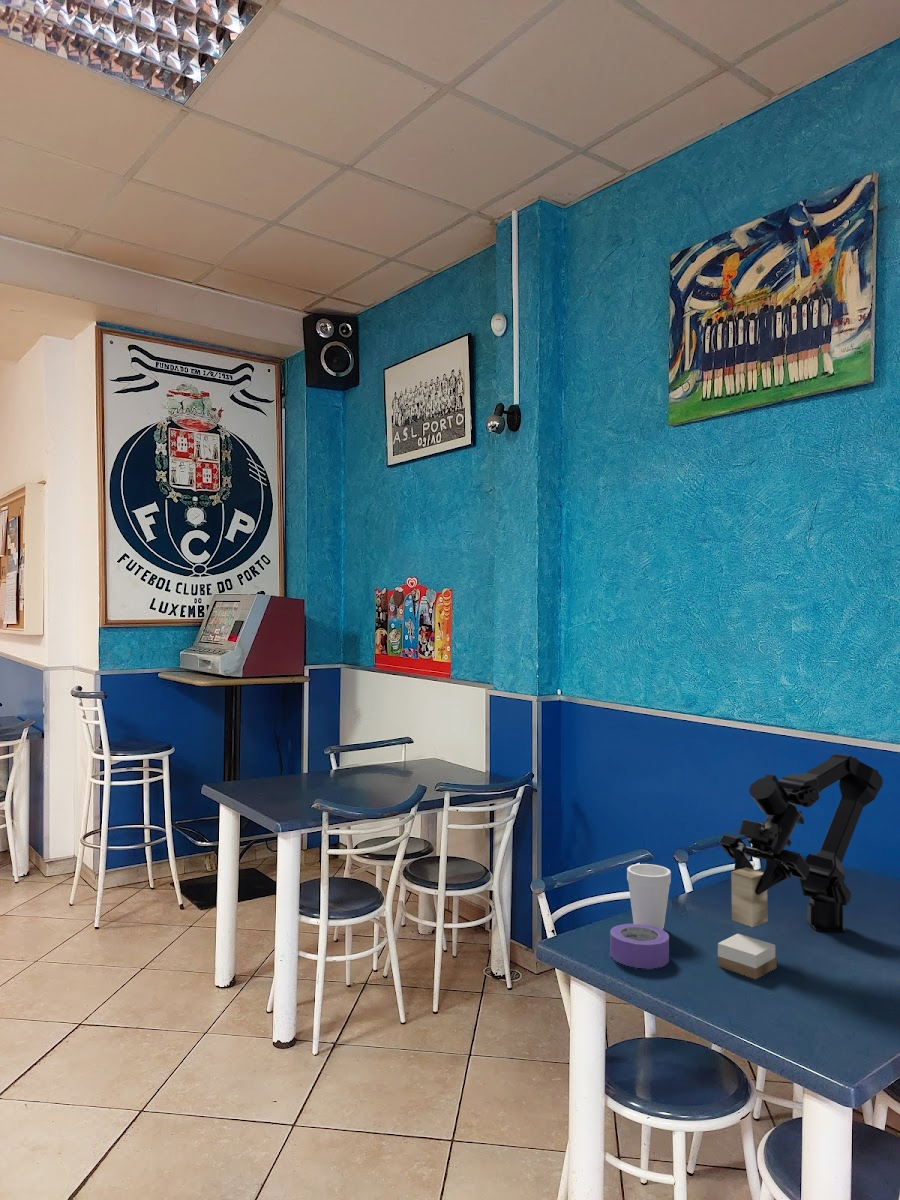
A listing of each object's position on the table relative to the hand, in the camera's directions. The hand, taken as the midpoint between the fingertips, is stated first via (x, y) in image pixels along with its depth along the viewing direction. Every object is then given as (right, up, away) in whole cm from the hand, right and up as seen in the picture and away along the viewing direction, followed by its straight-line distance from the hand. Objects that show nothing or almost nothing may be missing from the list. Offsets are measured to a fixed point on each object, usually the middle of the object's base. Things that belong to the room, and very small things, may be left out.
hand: (745, 890), depth 177 cm
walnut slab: (-2, -14, -6) cm, 15 cm away
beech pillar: (+1, -7, +1) cm, 7 cm away
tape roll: (-22, -13, -2) cm, 26 cm away
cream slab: (-2, -11, -6) cm, 13 cm away
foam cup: (-17, -13, +14) cm, 25 cm away
